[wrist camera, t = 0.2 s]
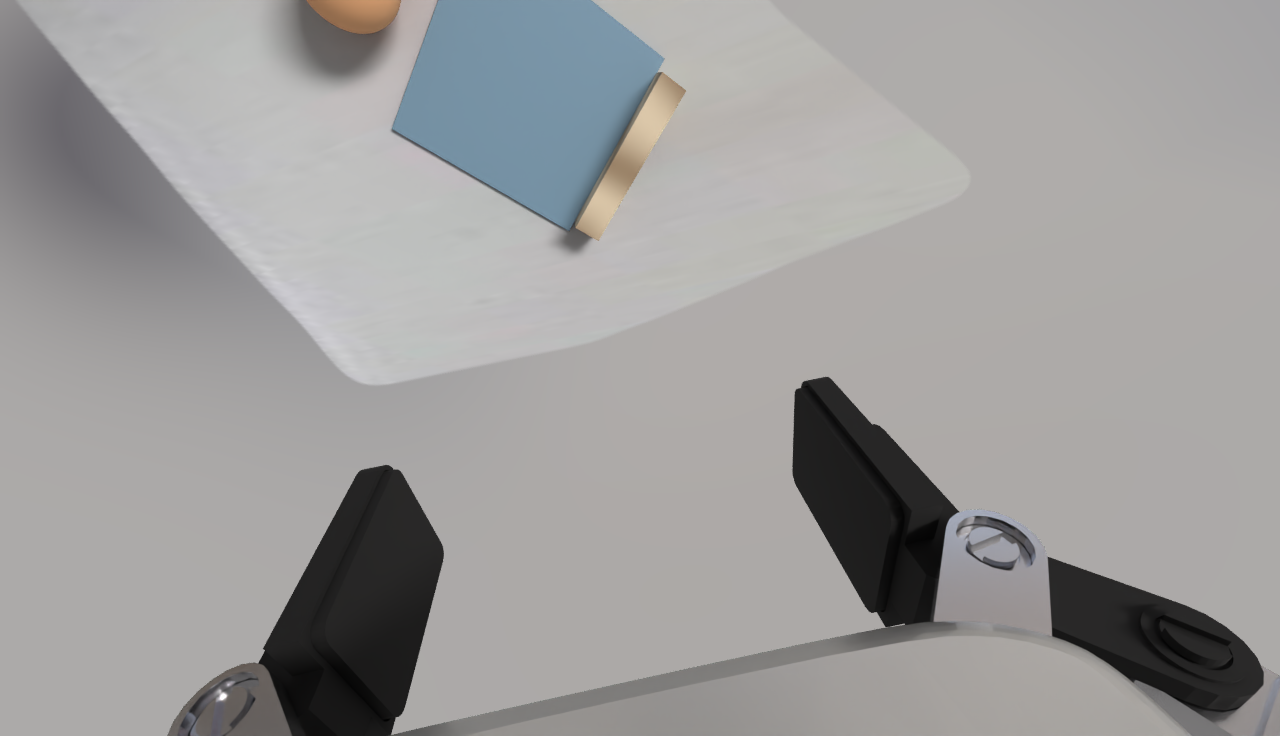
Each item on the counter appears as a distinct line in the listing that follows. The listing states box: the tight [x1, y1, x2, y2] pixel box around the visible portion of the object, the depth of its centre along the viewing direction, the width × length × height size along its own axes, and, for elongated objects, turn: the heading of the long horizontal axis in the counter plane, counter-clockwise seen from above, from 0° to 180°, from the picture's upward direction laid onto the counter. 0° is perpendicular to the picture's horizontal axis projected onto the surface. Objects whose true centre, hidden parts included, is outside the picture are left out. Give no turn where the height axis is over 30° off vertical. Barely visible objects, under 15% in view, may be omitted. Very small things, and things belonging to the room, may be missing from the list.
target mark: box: [392, 0, 664, 231], centre depth 34 cm, size 14×14×1 cm
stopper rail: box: [575, 72, 686, 241], centre depth 36 cm, size 12×2×2 cm, turn 147°
